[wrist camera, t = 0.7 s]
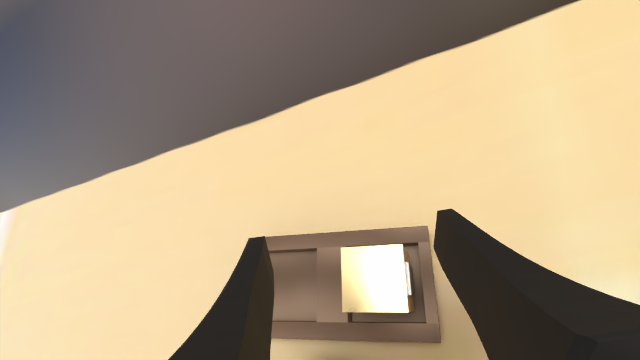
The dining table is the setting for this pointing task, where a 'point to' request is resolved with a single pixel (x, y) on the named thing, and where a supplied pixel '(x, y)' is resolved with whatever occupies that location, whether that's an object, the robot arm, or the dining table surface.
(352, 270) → the block
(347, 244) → the brown compartment tray
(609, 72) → the dining table surface
